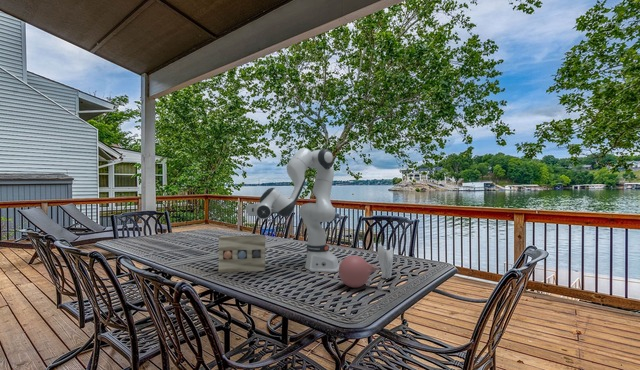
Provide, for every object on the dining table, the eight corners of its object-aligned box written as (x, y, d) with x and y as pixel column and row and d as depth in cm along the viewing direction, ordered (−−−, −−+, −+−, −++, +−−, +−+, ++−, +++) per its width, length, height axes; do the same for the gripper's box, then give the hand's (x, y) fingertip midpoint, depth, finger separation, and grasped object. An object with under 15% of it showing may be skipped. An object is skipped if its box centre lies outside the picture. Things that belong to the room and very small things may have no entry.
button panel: (221, 266, 185) (221, 234, 185) (264, 264, 190) (264, 232, 190) (218, 272, 172) (218, 237, 172) (265, 270, 177) (265, 236, 177)
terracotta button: (224, 257, 176) (224, 250, 176) (232, 257, 177) (232, 249, 177) (223, 259, 172) (223, 251, 172) (231, 259, 173) (231, 251, 173)
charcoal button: (252, 256, 179) (252, 249, 179) (260, 256, 180) (260, 248, 180) (252, 258, 175) (252, 250, 175) (260, 257, 176) (260, 250, 176)
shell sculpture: (395, 276, 167) (395, 244, 167) (392, 281, 159) (392, 246, 159) (380, 274, 170) (380, 242, 170) (376, 279, 163) (376, 245, 163)
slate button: (238, 257, 176) (238, 250, 176) (246, 257, 177) (246, 249, 177) (237, 259, 172) (238, 251, 172) (245, 259, 173) (246, 251, 173)
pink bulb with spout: (380, 293, 141) (380, 260, 141) (337, 291, 144) (337, 258, 144) (378, 283, 156) (378, 253, 156) (339, 281, 159) (340, 251, 159)
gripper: (281, 203, 175) (280, 202, 189) (245, 204, 171) (246, 202, 185) (281, 214, 175) (280, 212, 189) (245, 215, 171) (246, 213, 185)
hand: (263, 207), depth 187 cm, fingers closed
